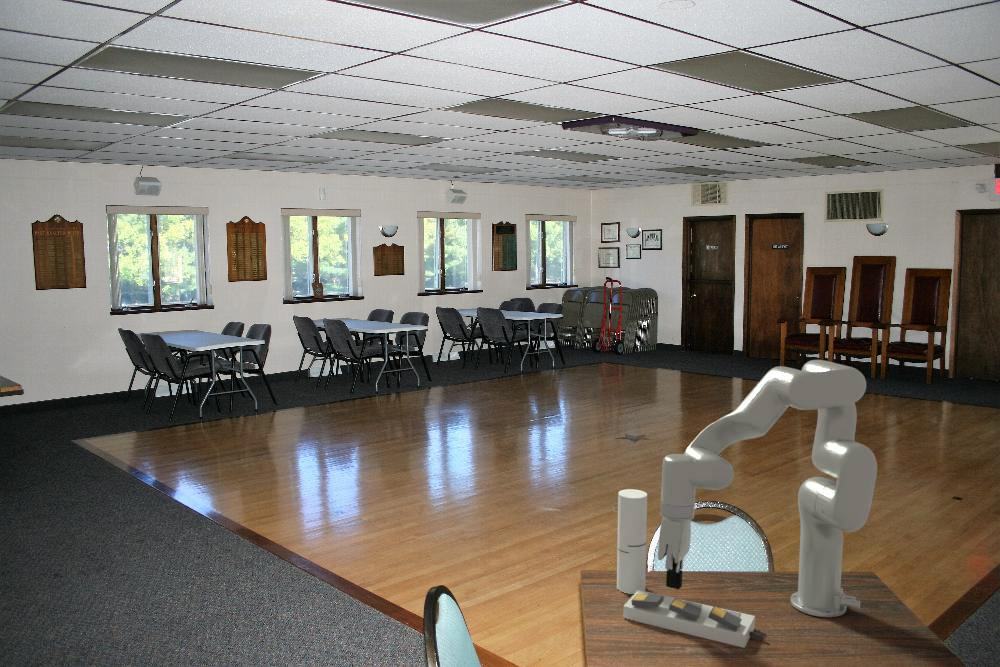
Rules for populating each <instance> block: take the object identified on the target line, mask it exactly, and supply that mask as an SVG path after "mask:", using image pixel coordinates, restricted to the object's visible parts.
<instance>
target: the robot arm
mask: <svg viewBox="0 0 1000 667" xmlns="http://www.w3.org/2000/svg"><path fill="white" fill-rule="evenodd" d="M866 391H867V380H866V378H865V376H864V374H863V373H862V372H861V371H860V370H858V369H857V368H854V367H852V366H848V365H845V364H840V363H836V362H832V361H829V360H824V359H812V360H809V361H807V362H806V363H804V365H803V366H802V367H801V370H800V369H797V368H793V367H788V366H782V365H781V366H774V367H772V368H771V369H769V370H768V371H767V372H766V374H764V376H763V377H762V378H761V379H760V381H758V382H757V384H756V385H755V386H754V387H753V389H751V391H750V392H749V393H748V394H747V395H746V397H745V398H744V399H743V400H742V401H741V403H740V404H739V405H738V406H737V407H736V408H735V409H734V410H733V411H731V412H730V413H727V414H726V415H724V416H722V417H720V418H719V419H717V420H716V421H714V422H711V423H710V424H709V425H707V426H706V427H705V428H703V429H702V430H701V431H700V432H699V433H698V434H697V435H696V437H695V438H694V439H693V440H692V441H691V443H690V444H689V445H688V446H687V448H686V449H685V451H684V452H683V453H671V454H667V455H665V456H664V457H663V459H662V465H661V466H662V468H661V491H660V510H659V511H660V512H659V515H660V517H662V518H661V523H660V529H659V536H658V549H657V559H658V560H659V561H662V560H664V558H665V566H664V567H665V569H666V575H665V579H666V581H665V586H666V587H667V588H671V589H675V590H680V589H681V588H682V586H683V568H684V558H685V557H686V555H688V553H689V552H690V549H691V537H692V536H691V534H692V527H691V525H692V524H691V523H692V520H694V518H695V507H696V506H695V505H696V502H695V501H696V489H703V490H708V491H709V490H711V491H718V490H723V489H726V488H728V487H729V486H730V485H731V484H732V482H733V481H734V478H735V471H734V468H733V465H732V464H731V463H730V462H729V461H728V460H727V459H725V458H724V457H722V456H720V454H721V453H722V451H725V449H726V448H728V447H729V446H731V445H733V444H735V443H737V442H742V441H745V440H752V439H757V438H761V437H763V436H765V435H766V434H767V433H768V432H769V430H770V429H771V428H773V426H774V424H775V423H777V421H778V420H779V419H780V417H781V416H782V415H783V414H784V413H785V412H786V410H787V409H788V408H789V407H791V408H793V409H797V410H801V411H811V410H812V411H813V410H817V421H816V422H817V423H816V428H815V433H814V439H813V444H812V450H811V462H812V464H813V466H814V467H815V468H816V469H817V470H818V471H820V472H822V473H824V474H826V475H829V476H830V477H833V478H835V479H836V481H834V480H831V479H830V478H827V477H822V476H813V477H809V478H808V479H806V480H804V482H802V483H801V485H800V487H799V489H798V492H797V493H798V494H797V503H798V510H799V511H798V512H799V521H800V536H799V537H800V538H799V539H800V540H799V557H798V558H799V559H798V562H799V563H798V564H799V565H798V581H797V582H798V584H797V586H798V587H797V591H795V592H794V593H792V595H791V596H790V604H791V605H792V606H793V607H794V608H795V609H796V610H798V611H800V612H802V613H803V614H808V615H810V616H815V617H818V618H820V617H821V618H835V617H837V618H838V617H840V616H842V615H844V614H845V613H846V612H847V608H848V607H849V608H851V609H856V610H860V608H861V600H857V599H856V598H857V597H856V596H853V595H847V594H846V593H844V588H843V587H841V586H842V582H841V581H842V565H843V564H842V563H843V549H844V548H843V546H844V534H843V532H846V533H852V532H856V531H858V530H860V529H861V528H863V526H864V525H865V524H866V522H867V520H868V518H869V515H870V512H871V507H872V502H873V497H874V496H873V495H874V492H875V486H876V482H877V475H878V462H877V458H876V456H875V454H874V452H873V451H872V450H871V448H869V447H868V446H866V445H865V444H862V443H860V442H858V441H856V440H855V438H856V437H855V436H856V429H857V428H856V427H857V418H858V417H857V416H858V414H857V413H858V412H857V407H856V403H857V402H858V401H860V399H861V398H863V396H864V394H865V393H866Z"/></svg>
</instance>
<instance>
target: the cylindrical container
mask: <svg viewBox="0 0 1000 667" xmlns="http://www.w3.org/2000/svg"><path fill="white" fill-rule="evenodd" d="M617 495H618V496H617V550H616V552H617V555H616V556H617V558H616V560H617V561H616V590H617V589H619V590H620V591H622V592H624V593H628V594H635V593H636V591H637V590H641V591H646V571H647V570H646V569H647V568H646V566H647V527H648V526H647V522H648V521H647V520H648V519H647V518H648V515H647V514H648V512H647V511H648V493H647V492H646V491H644V490H641V489H632V488H627V489H622V490H619V491H618V494H617ZM620 591H619V592H620ZM624 593H623V594H624ZM628 594H627V595H628Z"/></svg>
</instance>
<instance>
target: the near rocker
mask: <svg viewBox="0 0 1000 667" xmlns="http://www.w3.org/2000/svg"><path fill="white" fill-rule="evenodd" d="M720 608H721V607H718V606H716V605H714V606H713V609H712V610H711V612H710V613H709V616H708V618H710V619H712V620H714V621H716V622H718V623H720V624H722V625H724V626H726V627H728V628H730V629H732V630H734V631H736V630H737V628H738V627H739V625H740V623H741V620H742V619H740V618H738V617H736V616H734V615H732V614H730V613H728V612H726V611H724V610H722V609H723V608H722V609H720Z"/></svg>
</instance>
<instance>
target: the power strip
mask: <svg viewBox="0 0 1000 667" xmlns="http://www.w3.org/2000/svg"><path fill="white" fill-rule="evenodd" d="M637 594H647V595H660V594H658V593H654V592H650V591H646V590H645V591H641V590H637V591H636V593H635V594H634V595H631V597H630V598H629V599H628V600H627V602H625V603H624V605H623V611H622V612H623V614H622V619H625V618H626V619H625V620H629V619H630V620H629V621H633V620H634V621H633V622H637V623H642V624H646V625H650V626H653V627H658V628H661V629H665V630H670V631H674V632H677V633H681V634H687V635H691V636H693V637H694V636H695V637H699V638H703V639H707V640H709V641H710V640H711V641H715V642H719V643H723V644H726V645H732V646H735V647H740V648H743V649H745V648H746V646H747V644H748V643H749V641H750V638H751V637H753V638H757V639H760V640H764V639H765V634H762V633H759V632H755V631H754V630H755V628H756V625H755V624H756V616H755V615H753V614H748V613H743V612H740V611H735V610H729V609H724V608H721V607H719V608H720V609H722V610H724V611H726V612H728V613H730V614H732V615H734V616H736V617H738V618H740V619H742V620H741V623H740V625H739V627H738V628H737V630H736V631H734V630H732V629H730V628H728V627H726V626H724V625H722V624H720V623H718V622H716V621H714V620H712V619H710V618H708V616H709V613H710V612H711V610H712V609H713V607H714V606H712V605H707V604H702V603H700V602H694V601H690V600H686V599H681V598H677V597H674V596H673V597H672V596H667V595H664V594H662V595H663V599H664V601H663V602H662V603H661V604H660V606H659V607H647V606H632V602H631V600H632V599H633V598H634V597H635V596H636V595H637ZM675 598H676V599H679V600H681V601H684V602H686V603H689V604H691V605H694V606H696V607H699V608H701V609H702V610H701V614H700V615H699V617H698V618H697V620H693V619H691V618H688V617H686V616H683V615H681V614H678V613H676V612H673V611H671V610H669V606H670V604H671V603H672V601H673V600H674V599H675Z"/></svg>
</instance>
